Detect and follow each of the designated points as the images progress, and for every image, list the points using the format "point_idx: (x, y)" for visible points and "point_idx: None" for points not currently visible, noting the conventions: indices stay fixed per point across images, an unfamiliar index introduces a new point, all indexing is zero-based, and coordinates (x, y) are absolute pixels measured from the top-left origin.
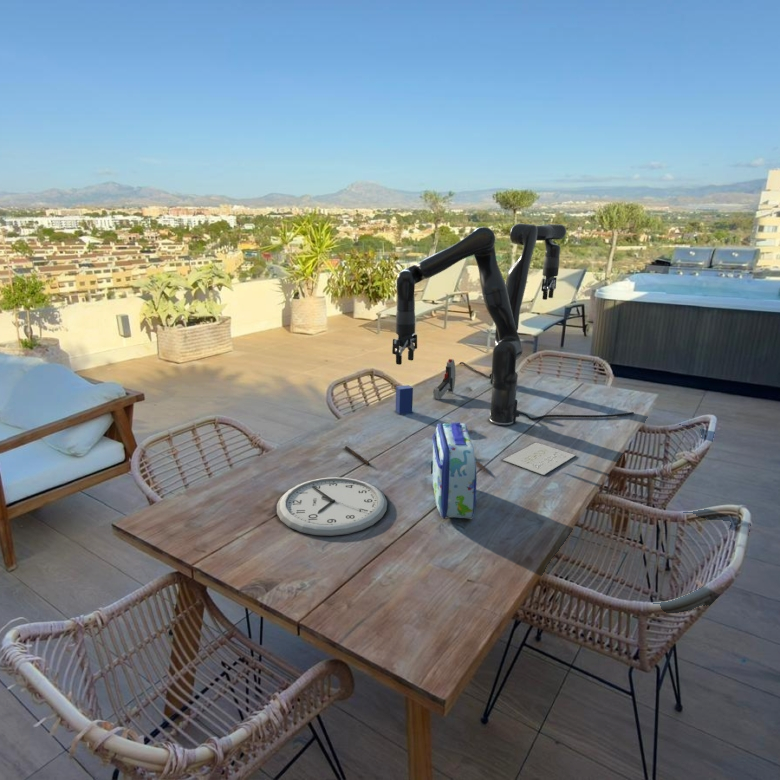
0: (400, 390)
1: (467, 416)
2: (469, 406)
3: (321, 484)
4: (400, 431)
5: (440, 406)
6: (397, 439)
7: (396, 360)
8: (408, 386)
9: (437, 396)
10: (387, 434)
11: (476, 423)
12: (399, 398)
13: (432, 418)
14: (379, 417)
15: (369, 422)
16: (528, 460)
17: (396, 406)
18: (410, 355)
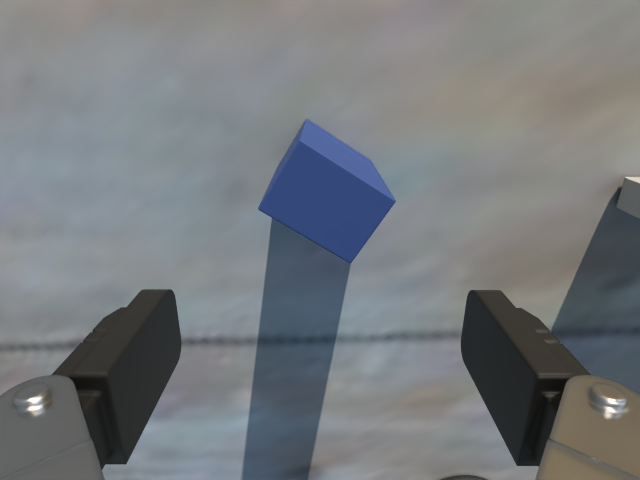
0: (262, 208)
1: (446, 405)
2: (580, 362)
3: None
4: (107, 291)
5: (514, 264)
6: (35, 326)
7: (92, 342)
8: (362, 219)
9: (625, 207)
10: (38, 268)
11: (390, 455)
12: (269, 185)
13: (335, 315)
14: (169, 104)
15: (73, 108)
16: None
17: (297, 135)
18: (490, 370)
